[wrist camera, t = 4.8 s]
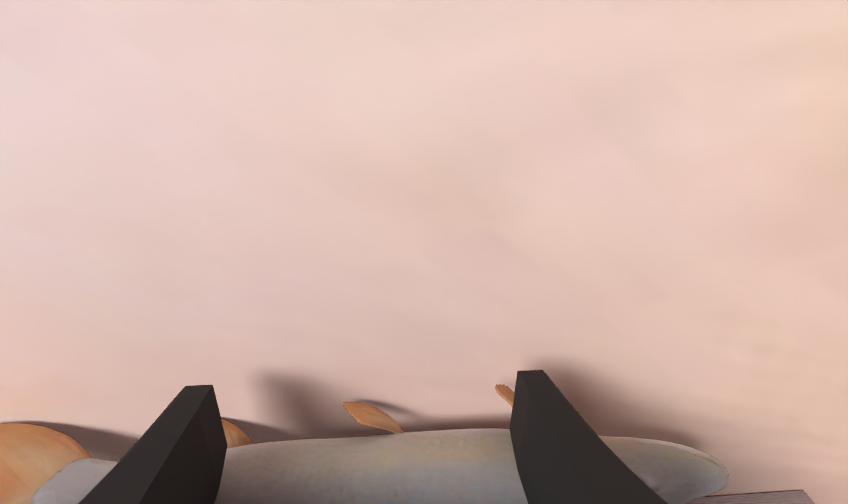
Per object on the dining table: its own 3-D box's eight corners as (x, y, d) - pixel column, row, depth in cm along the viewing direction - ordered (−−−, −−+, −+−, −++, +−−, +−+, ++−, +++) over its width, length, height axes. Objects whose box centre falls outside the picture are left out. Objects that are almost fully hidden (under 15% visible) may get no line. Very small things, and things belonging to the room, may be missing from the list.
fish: (663, 456, 18) (753, 620, 14) (-5, 471, 16) (-147, 674, 11) (708, 358, 16) (833, 516, 11) (-64, 358, 13) (-267, 557, 9)
